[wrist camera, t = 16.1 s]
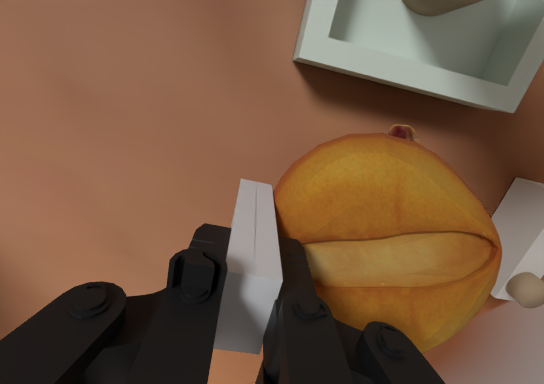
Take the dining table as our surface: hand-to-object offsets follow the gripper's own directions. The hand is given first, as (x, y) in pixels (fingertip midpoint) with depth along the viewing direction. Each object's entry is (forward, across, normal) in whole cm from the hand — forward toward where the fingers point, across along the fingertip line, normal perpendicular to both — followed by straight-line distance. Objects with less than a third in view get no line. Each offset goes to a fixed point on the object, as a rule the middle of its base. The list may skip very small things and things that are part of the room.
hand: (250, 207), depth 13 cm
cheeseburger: (+4, +6, 0) cm, 7 cm away
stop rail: (+4, +17, 0) cm, 17 cm away
